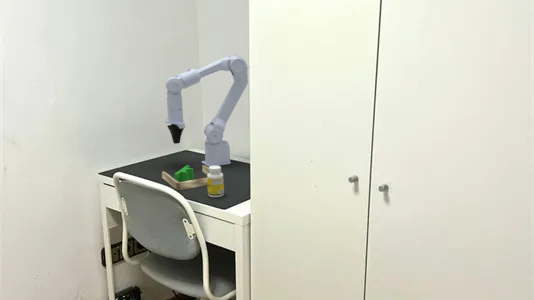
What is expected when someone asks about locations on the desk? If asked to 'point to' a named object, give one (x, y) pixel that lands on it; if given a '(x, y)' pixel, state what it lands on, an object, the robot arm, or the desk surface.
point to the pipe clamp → (184, 174)
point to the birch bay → (186, 184)
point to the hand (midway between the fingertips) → (176, 143)
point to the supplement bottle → (215, 182)
